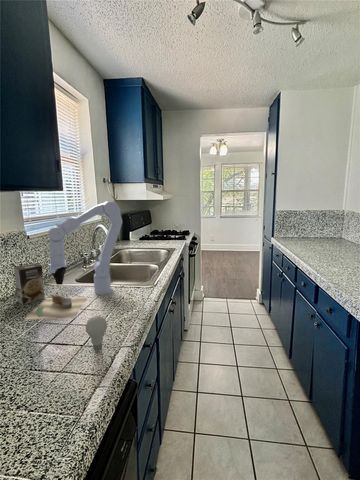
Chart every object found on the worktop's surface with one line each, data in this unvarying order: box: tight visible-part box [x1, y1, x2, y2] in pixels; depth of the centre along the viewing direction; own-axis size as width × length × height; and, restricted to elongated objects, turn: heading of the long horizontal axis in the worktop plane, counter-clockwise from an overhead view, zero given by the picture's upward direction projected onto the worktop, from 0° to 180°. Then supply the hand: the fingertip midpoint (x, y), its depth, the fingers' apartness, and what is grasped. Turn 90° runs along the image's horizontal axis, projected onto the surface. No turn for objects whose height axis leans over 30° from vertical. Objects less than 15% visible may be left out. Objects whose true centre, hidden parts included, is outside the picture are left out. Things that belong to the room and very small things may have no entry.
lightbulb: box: [85, 315, 108, 352], centre depth 76 cm, size 6×6×11 cm
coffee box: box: [13, 263, 46, 306], centre depth 110 cm, size 9×6×16 cm
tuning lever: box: [50, 294, 72, 308], centre depth 106 cm, size 12×4×3 cm, turn 60°
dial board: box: [24, 296, 89, 321], centre depth 104 cm, size 20×18×1 cm
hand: (59, 284), depth 112 cm, fingers closed
